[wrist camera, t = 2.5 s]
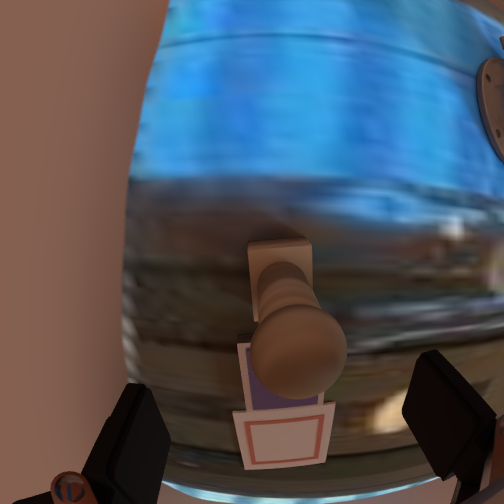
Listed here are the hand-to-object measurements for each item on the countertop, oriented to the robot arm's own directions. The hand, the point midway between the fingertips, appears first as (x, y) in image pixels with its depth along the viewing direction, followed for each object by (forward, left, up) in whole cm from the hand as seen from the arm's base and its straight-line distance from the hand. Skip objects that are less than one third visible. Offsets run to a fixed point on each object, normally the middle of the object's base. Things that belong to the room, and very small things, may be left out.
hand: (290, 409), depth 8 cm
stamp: (0, +1, -13) cm, 13 cm away
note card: (+20, +1, -13) cm, 23 cm away
